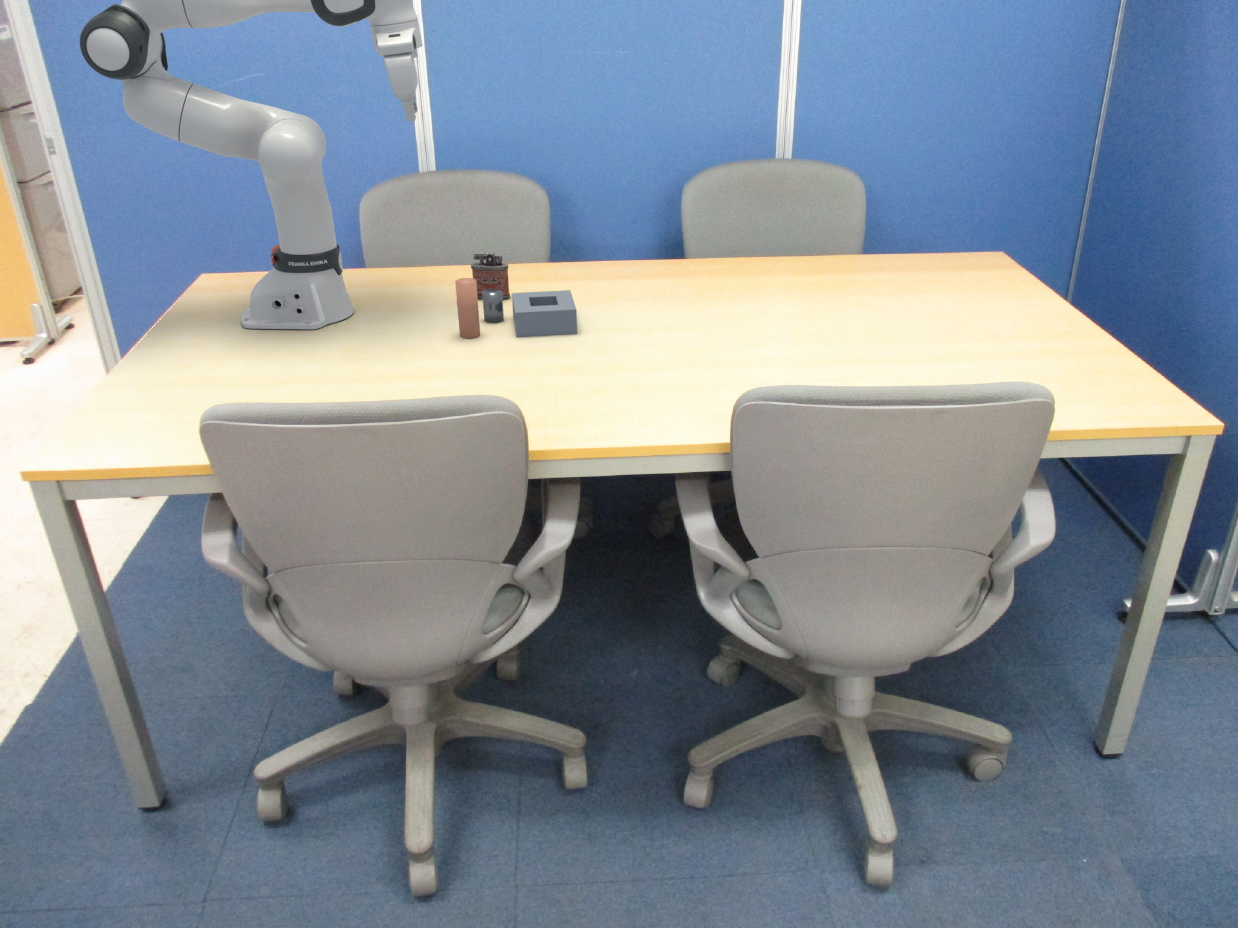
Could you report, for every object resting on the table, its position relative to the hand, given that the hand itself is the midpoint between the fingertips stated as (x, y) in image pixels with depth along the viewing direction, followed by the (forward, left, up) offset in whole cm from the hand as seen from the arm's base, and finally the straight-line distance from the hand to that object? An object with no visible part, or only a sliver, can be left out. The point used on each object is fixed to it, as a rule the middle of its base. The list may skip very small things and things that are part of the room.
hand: (412, 116), depth 191 cm
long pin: (+8, -17, -39) cm, 43 cm away
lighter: (+13, +5, -39) cm, 41 cm away
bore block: (+23, -13, -39) cm, 47 cm away
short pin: (+13, -9, -39) cm, 42 cm away
